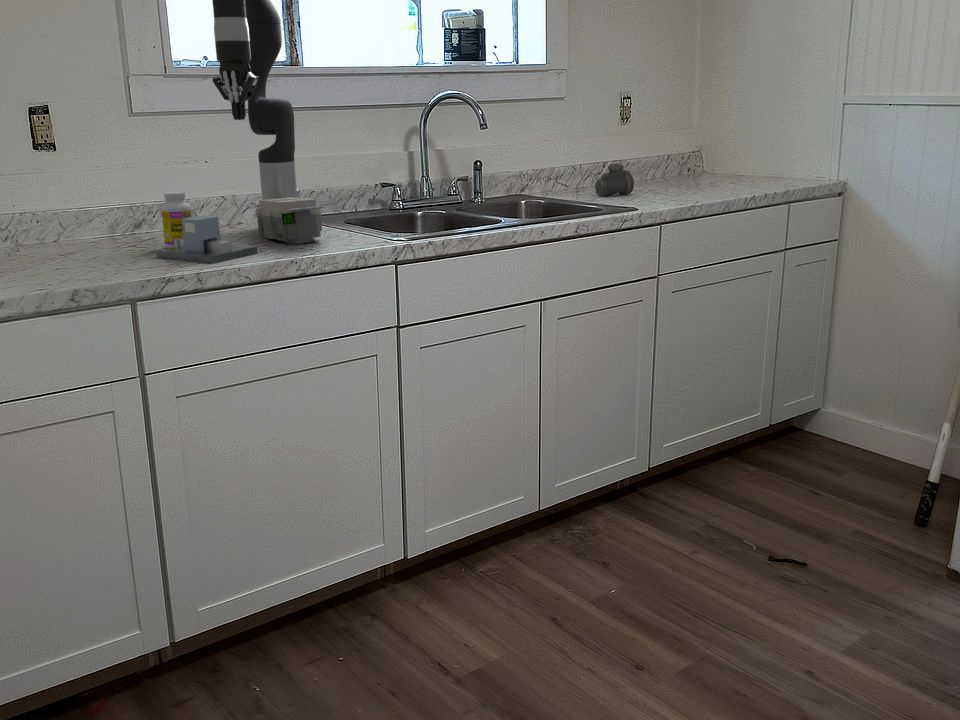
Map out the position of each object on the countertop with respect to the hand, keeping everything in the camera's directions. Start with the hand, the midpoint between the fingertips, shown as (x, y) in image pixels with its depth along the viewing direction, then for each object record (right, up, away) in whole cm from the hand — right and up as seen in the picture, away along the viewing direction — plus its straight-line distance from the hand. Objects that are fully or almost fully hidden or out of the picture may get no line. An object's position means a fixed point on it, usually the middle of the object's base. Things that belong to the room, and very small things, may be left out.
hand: (239, 119), depth 211 cm
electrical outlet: (+8, -25, +17) cm, 32 cm away
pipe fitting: (+99, -1, +92) cm, 135 cm away
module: (-7, -30, -5) cm, 31 cm away
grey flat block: (-6, -31, -3) cm, 32 cm away
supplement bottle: (-16, -28, +8) cm, 34 cm away
